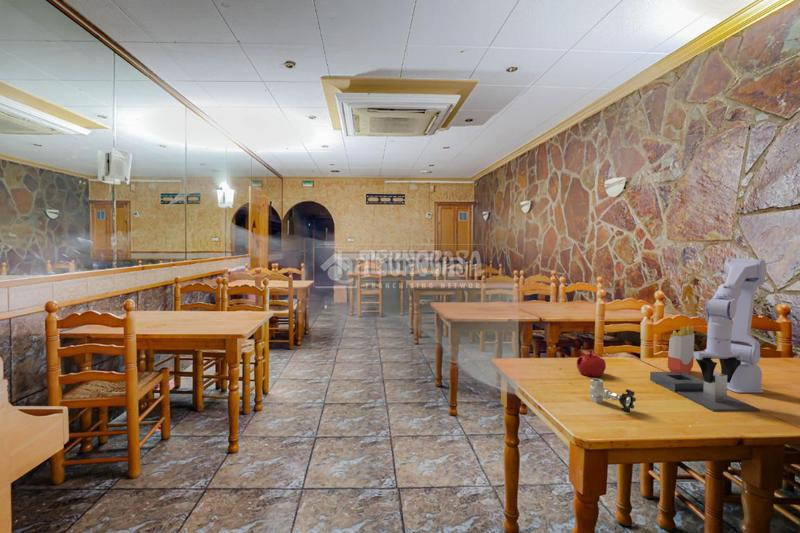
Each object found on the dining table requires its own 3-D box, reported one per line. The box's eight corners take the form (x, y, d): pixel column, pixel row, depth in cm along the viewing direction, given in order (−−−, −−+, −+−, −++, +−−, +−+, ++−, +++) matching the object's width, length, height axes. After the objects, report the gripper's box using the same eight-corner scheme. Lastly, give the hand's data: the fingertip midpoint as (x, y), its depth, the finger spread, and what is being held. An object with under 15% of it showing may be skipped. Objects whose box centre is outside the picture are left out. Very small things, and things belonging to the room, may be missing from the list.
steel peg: (714, 396, 123) (715, 371, 123) (726, 401, 119) (727, 375, 119) (703, 397, 123) (703, 371, 122) (714, 401, 119) (715, 375, 118)
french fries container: (666, 372, 149) (668, 326, 148) (679, 368, 155) (681, 323, 154) (679, 376, 145) (681, 328, 144) (693, 371, 151) (695, 325, 150)
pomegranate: (609, 374, 146) (610, 350, 146) (599, 380, 139) (600, 354, 139) (582, 368, 153) (583, 345, 153) (571, 373, 147) (572, 349, 146)
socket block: (682, 380, 141) (682, 371, 141) (710, 392, 129) (710, 383, 129) (650, 380, 140) (650, 371, 140) (674, 392, 128) (675, 383, 128)
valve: (583, 401, 120) (622, 415, 110) (584, 379, 120) (623, 392, 110) (596, 397, 124) (635, 410, 113) (597, 376, 123) (636, 388, 113)
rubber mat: (718, 393, 128) (718, 391, 128) (759, 411, 114) (759, 408, 114) (677, 393, 127) (677, 391, 127) (713, 411, 113) (713, 409, 113)
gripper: (728, 335, 124) (726, 377, 125) (686, 335, 123) (684, 378, 124) (750, 340, 117) (748, 384, 118) (705, 340, 116) (703, 385, 117)
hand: (716, 381), depth 120 cm, fingers open, 5 cm apart
